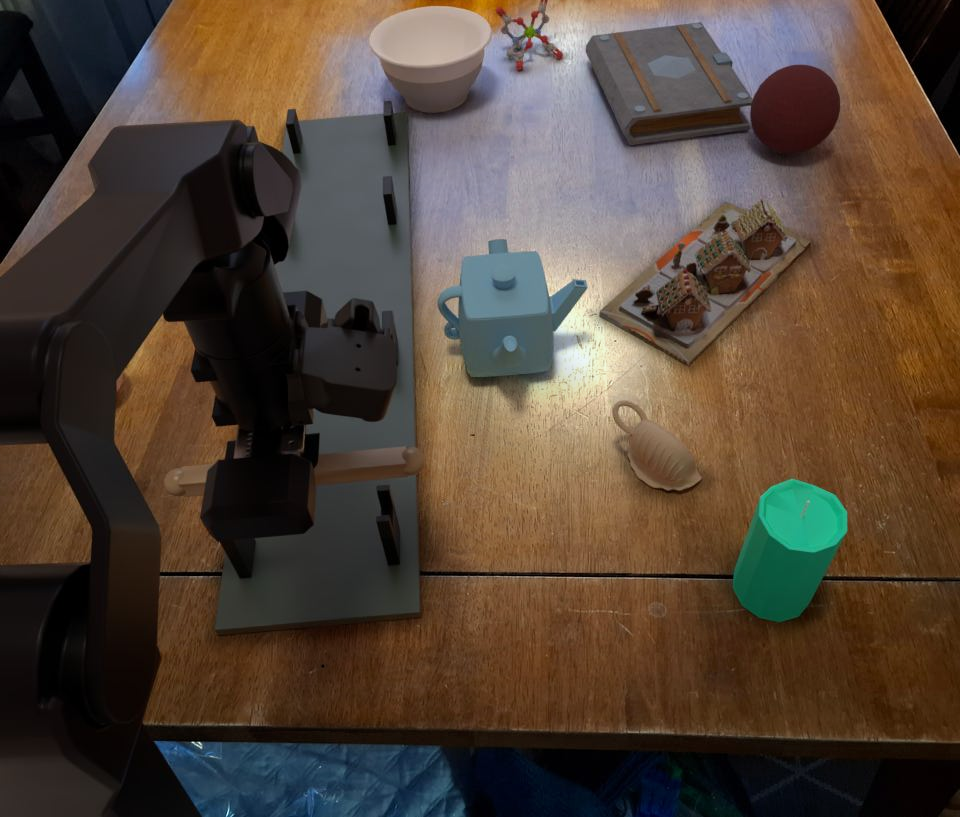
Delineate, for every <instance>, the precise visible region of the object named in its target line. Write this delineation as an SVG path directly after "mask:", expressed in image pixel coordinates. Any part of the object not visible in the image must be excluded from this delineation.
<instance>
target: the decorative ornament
mask: <svg viewBox="0 0 960 817" xmlns="http://www.w3.org/2000/svg"><path fill="white" fill-rule="evenodd" d="M621 407H627V408H629V409H632V410H633V411H634V412H635V413H636V414H637V415H638V417H639V418H640V421H639V422H638V423H637V424H636V425H635V427H634V428H632V427H630V426H628V425H626V423H624V422H623V420H622V419H621V417H620V415H619V410H620V408H621ZM611 413H612V419H613V420H614V423H615V424H616V425H617V426H618V427H619V429H621V430H622V431H623V432H625V433H626V434H629V439H628V446H627V457H628V459H629V462H630V463H629V464H630V467H631V468H632V469H633V471H634V473H635V476H636V477H637V479H639V480H640V481H642V482H644V483H645V484H646V485H647V486H649V487H650V488H653V489H663V490H665V491H667V492H668V491H669V492H670V491H672V490H674V491H678V492H679V491H680V492H681V491H684V490H686V489H689V488H691V487H694V486H695V485H696V484H698V483H699V482H700V481H701V480H703V477H702V475H700V473H699V472H698V470H697V467H696V466H697V465H696V460H695V458H694V456H693V454H692V452H691V451H690V449H689V448H688V447H687V446H686V445H685V444H684V443H683V442H682V441H681V440H680V439H679V438H678V437H676V436H675V435H674V434H673V433H672V432H670V431H669V430H668V429H666V428H665V427H664V426H662V425H661V424H660V423H657V422H656V421H654V420H650V419H648V417H647V414H646V412H645V411H644V410H643V409H642V407H640V406H639V405H638V404H637V403H634V402H632V401H630V400H625V399H622V400H618V401H617V402H616V403H614V405H613V406H612V409H611Z"/></svg>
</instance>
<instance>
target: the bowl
mask: <svg viewBox="0 0 960 817" xmlns="http://www.w3.org/2000/svg"><path fill="white" fill-rule="evenodd" d="M492 35H493V31H492V28H491V25H490V22H488V21H487V19H486V18H485V17H483V16H482V15H480V14H479V13H477V12H474V11H472V10H468V9H465V8H461V7H456V6H445V5H433V6H432V5H429V6H420V7H416V8H415V7H414V8H410V9H406V10H404V11H400V12H397V13H395V14H392V15H390V16H388V17H387V18H385V19H383V20H382V21H380V22H379V23H378V24H377V25H376V26H374V27H373V29H372V31H371V32H370V34H369V38H368V44H369V48H370V50H371V52H372V54H374V55H375V56H376V57H377V58H379V63H380V65H381V68H382V70H383V73H384V75H385V77H386V79H387V80H388V81H389V83H390V84H391V85H392V87H393V89H395V91H397V92H398V93H399V95H401V96H402V97H403V98H404V101H405V104H406V105H407V106H408V107H410V108H411V109H413V110H416V111H417V112H422V113H428V114H429V113H433V114H434V113H443V112H448V111H451V110H454V109H456V108H458V107H459V106H461V105H463V104H464V103H465V102H466V100H467V99H468V97H469V96H468V94H469V92H470V90H471V88H472V87H473V86H474V84H475V82H476V81H477V79H478V76H479V74H480V73H481V70H482V67H483V62H484V58H485V48H486V47H487V46H488V45H489V43H490V41H491V40H492Z"/></svg>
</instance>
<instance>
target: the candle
mask: <svg viewBox="0 0 960 817" xmlns="http://www.w3.org/2000/svg"><path fill="white" fill-rule="evenodd" d="M847 533H848V511H847V509H846V508H845V507H844V505H843V503H841V501H840V500H839V498H838V496H837V495H836V494H835V493H832V492H829V491H827V490H826V489H824V488H822V487H819V486H816V485H815V484H811V483H808V482H804V481H801V480H798V479H795V478H790V479H788V480H784V481H782V482H779V483H776V484H773V485H771V486H770V487H769V488H768V489H767V490H766V491H765V492H764V493H763V494H762V495H760V497H759V500H758V502H757V505H756V508H755V511H754V514H753V516H752V519H751V522H750V525H749V527H748V530H747V534H746V536H745V539H744V542H743V544H742V547H741V550H740V553H739V555H738V558H737V560H736V564H735V566H734V569H733V578H732V590H733V592H734V593H735V596H736V597H737V599H738V601H739V603H740V605H741V606H742V607H743V608H744V609H746V610H748V611H749V612H750V613H751V614H753V615H754V616H755V617H757V618H759V619H762V620H767V621H771V622H776V623H783V622H786V621H789V620H792V619H795V618H799V617H800V616H801V615H802V613H803V612H804V611H805V610H806V609H807V607H808V606H809V604H811V601H812V599H813V597H814V596H815V593H816V592H817V590H818V588H819V586H820V585H821V582H822V581H823V579H824V577H825V574H826V573H827V571H828V569H829V567H830V565H831V564H832V561H833V559H834V557H835V555H836V554H837V552H838V550H839V548H840V547H841V545H842V542H843V540H844V539H845V536H847Z"/></svg>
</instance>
